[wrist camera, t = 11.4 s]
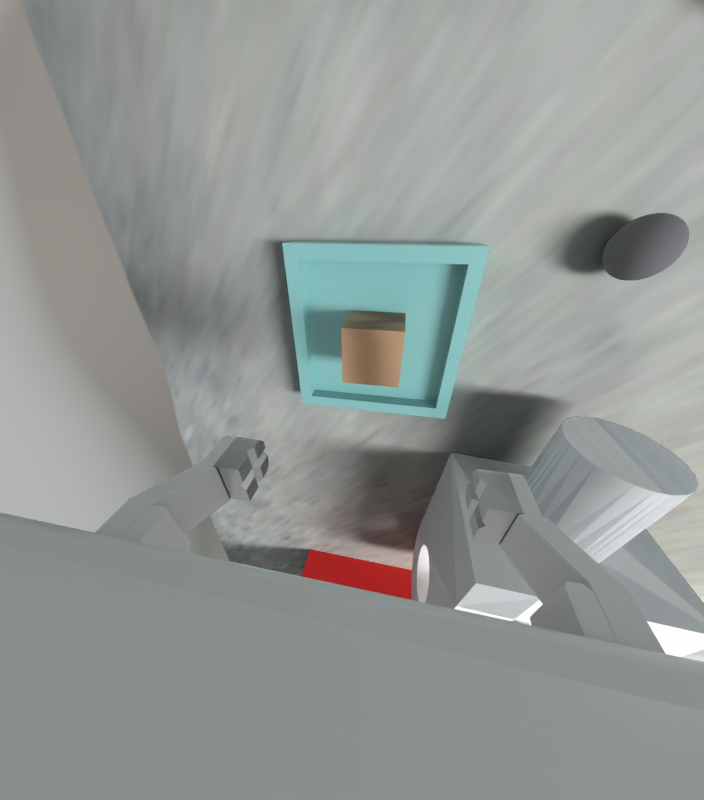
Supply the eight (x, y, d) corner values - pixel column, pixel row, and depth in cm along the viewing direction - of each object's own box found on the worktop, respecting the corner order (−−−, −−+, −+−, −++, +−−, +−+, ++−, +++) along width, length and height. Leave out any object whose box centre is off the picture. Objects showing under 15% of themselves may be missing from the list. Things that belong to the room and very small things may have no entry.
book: (311, 566, 60) (237, 834, 34) (309, 549, 55) (222, 843, 29) (433, 593, 57) (456, 910, 31) (442, 576, 52) (478, 933, 26)
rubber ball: (671, 213, 18) (728, 212, 15) (636, 276, 21) (679, 286, 17) (607, 213, 19) (649, 212, 16) (580, 274, 21) (611, 284, 18)
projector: (518, 569, 46) (559, 696, 34) (410, 546, 48) (412, 658, 36) (674, 412, 26) (911, 583, 14) (479, 383, 28) (537, 511, 16)
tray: (482, 244, 21) (490, 246, 19) (442, 405, 30) (445, 418, 28) (292, 241, 23) (282, 242, 21) (308, 392, 32) (302, 403, 30)
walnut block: (405, 313, 24) (405, 331, 20) (399, 362, 27) (398, 387, 23) (352, 310, 25) (341, 327, 21) (351, 358, 28) (342, 382, 24)
